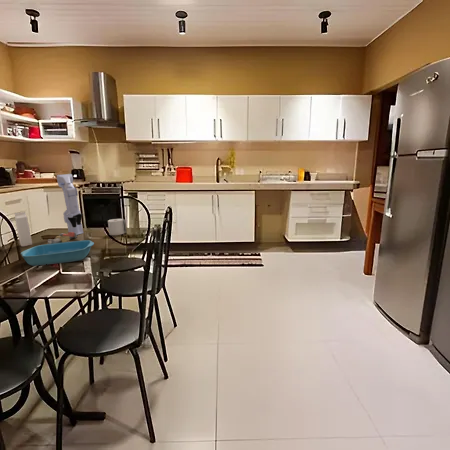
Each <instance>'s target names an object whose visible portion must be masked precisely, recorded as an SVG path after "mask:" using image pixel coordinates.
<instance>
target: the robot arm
mask: <svg viewBox="0 0 450 450" xmlns="http://www.w3.org/2000/svg"><path fill="white" fill-rule="evenodd" d="M56 180H57V186H58V187H59V188H61V189H62V191H63V198H64V203H65V207H66V210H65V211H64V212H63V220H64V223H66V224H67V233H68V232H74V233H76V235H77V236H78V235H81V234H84V230H83V229H84V228H83V224H82V218H83V213H81V210H80V207H79V201H78V189H77V187H75V186H74V178H73V174H72V173H67V174H66V173H65V174H57V175H56Z"/></svg>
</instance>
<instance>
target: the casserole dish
mask: <svg viewBox="0 0 450 450" xmlns="http://www.w3.org/2000/svg"><path fill="white" fill-rule="evenodd" d="M94 244H95V242H93V241H92V240H90V239H86V240H85V239H84V240H83V239H82V240H73V241H66V242H63V243H53V244H48V243H47V244H41V245H40V244H39V245H36V246H33V247H30V248H28V249H25V250H23V251H21V252H20V255H21V257H22V258H23V259H24V261H25V262H26V263H27V265H30V266H36V265H37V266H44V265H45V266H47V265H54V264H65V263H71V262H72V263H73V262H77V261H82V260H83V259H85V258H86V257H87V256H88V255H89V253H90V252H91V248H92V247H93V246H94ZM46 264H47V265H46Z"/></svg>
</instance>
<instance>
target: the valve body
mask: <svg viewBox="0 0 450 450" xmlns="http://www.w3.org/2000/svg"><path fill="white" fill-rule="evenodd" d="M74 234H75V236H73V237H71V236H60V235H57V236H55V238H54V239H53V238H52V239H51V238H48V239H47V244H53V243H63V242H71V241H70V240H72V239H77V238H78V235H76V233H74Z"/></svg>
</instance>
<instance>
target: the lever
mask: <svg viewBox="0 0 450 450" xmlns="http://www.w3.org/2000/svg"><path fill="white" fill-rule="evenodd" d="M59 236H71V237H73V236H75V234H74V232H68V231H67V233H63V232H62V233H59Z"/></svg>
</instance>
